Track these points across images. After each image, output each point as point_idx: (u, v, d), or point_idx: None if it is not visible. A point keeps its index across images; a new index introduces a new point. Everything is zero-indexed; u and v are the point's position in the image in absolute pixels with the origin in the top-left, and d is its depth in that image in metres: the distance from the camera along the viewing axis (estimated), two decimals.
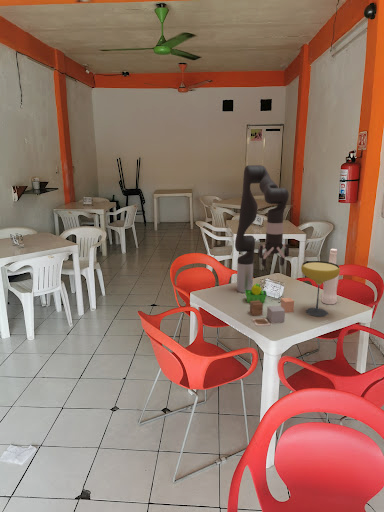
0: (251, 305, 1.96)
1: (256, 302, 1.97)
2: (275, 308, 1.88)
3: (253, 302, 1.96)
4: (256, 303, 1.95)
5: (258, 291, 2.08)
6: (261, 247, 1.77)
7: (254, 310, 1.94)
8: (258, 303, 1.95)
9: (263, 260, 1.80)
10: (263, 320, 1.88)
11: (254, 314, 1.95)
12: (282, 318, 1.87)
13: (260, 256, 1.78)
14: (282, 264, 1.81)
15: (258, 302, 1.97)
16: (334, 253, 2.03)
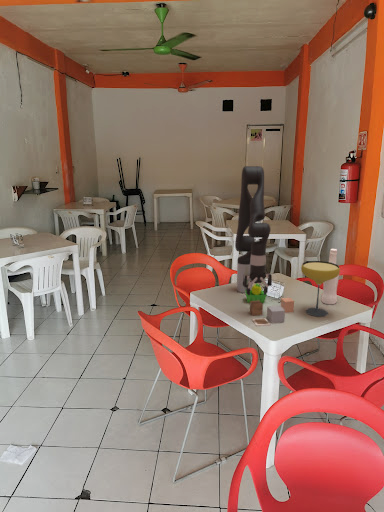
0: (251, 305, 1.96)
1: (256, 302, 1.97)
2: (275, 308, 1.88)
3: (253, 302, 1.96)
4: (256, 303, 1.95)
5: (258, 291, 2.08)
6: (245, 277, 1.91)
7: (254, 310, 1.94)
8: (258, 303, 1.95)
9: (248, 289, 1.93)
10: (263, 320, 1.88)
11: (254, 314, 1.95)
12: (282, 318, 1.87)
13: (245, 285, 1.91)
14: (265, 293, 1.94)
15: (258, 302, 1.97)
16: (334, 253, 2.03)
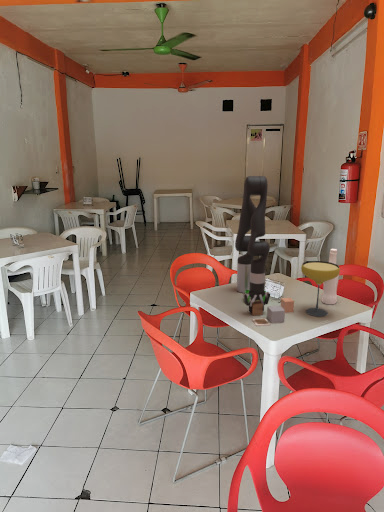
0: None
1: (256, 302, 1.97)
2: (275, 308, 1.88)
3: None
4: (256, 303, 1.95)
5: None
6: (245, 296, 1.93)
7: (254, 310, 1.94)
8: (258, 303, 1.95)
9: (250, 307, 1.96)
10: (263, 320, 1.88)
11: (254, 314, 1.95)
12: (282, 318, 1.87)
13: (247, 304, 1.94)
14: None
15: (258, 302, 1.97)
16: (334, 253, 2.03)
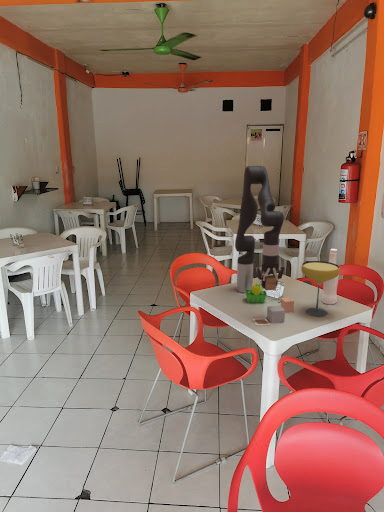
0: None
1: (269, 276, 1.87)
2: (275, 308, 1.88)
3: None
4: (269, 277, 1.86)
5: (258, 291, 2.08)
6: (258, 270, 1.84)
7: (267, 285, 1.85)
8: (271, 277, 1.86)
9: (263, 282, 1.86)
10: (263, 320, 1.88)
11: (267, 289, 1.86)
12: (282, 318, 1.87)
13: (260, 278, 1.85)
14: None
15: (272, 276, 1.87)
16: (334, 253, 2.03)
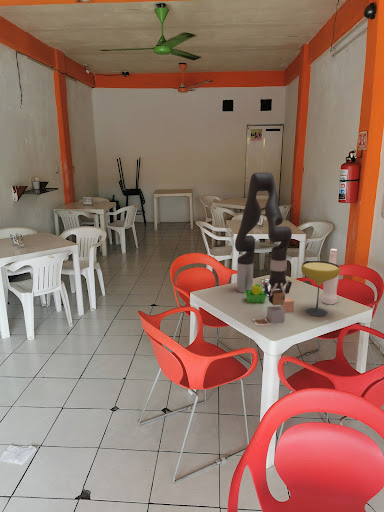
0: None
1: (276, 291, 1.87)
2: (275, 308, 1.88)
3: None
4: (277, 292, 1.85)
5: (258, 291, 2.08)
6: (265, 285, 1.83)
7: (274, 300, 1.85)
8: (279, 292, 1.86)
9: (270, 297, 1.86)
10: (263, 320, 1.88)
11: (275, 303, 1.85)
12: (282, 318, 1.87)
13: (267, 293, 1.85)
14: None
15: (279, 291, 1.87)
16: (334, 253, 2.03)
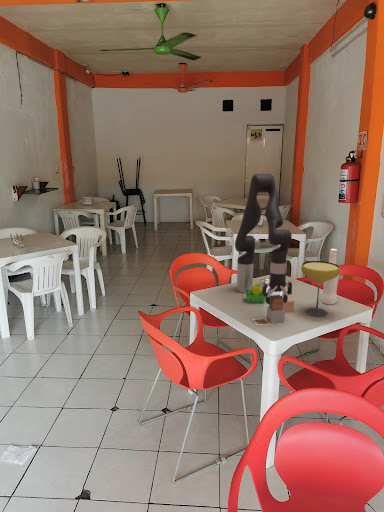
0: (271, 299, 1.87)
1: (276, 296, 1.88)
2: None
3: (273, 296, 1.87)
4: (276, 297, 1.86)
5: (258, 291, 2.08)
6: (265, 286, 1.84)
7: (274, 305, 1.85)
8: (278, 297, 1.86)
9: (267, 298, 1.86)
10: (263, 320, 1.88)
11: (274, 309, 1.86)
12: (282, 318, 1.87)
13: (264, 294, 1.84)
14: (285, 301, 1.87)
15: (279, 296, 1.88)
16: (334, 253, 2.03)
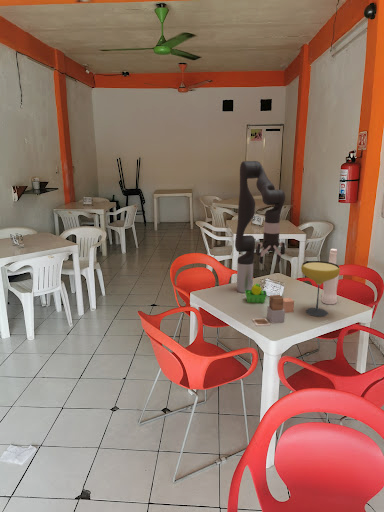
0: (271, 299, 1.87)
1: (276, 296, 1.88)
2: None
3: (273, 296, 1.87)
4: (276, 297, 1.86)
5: (258, 291, 2.08)
6: (259, 245, 1.88)
7: (274, 305, 1.85)
8: (278, 297, 1.86)
9: (260, 257, 1.91)
10: (263, 320, 1.88)
11: (274, 309, 1.86)
12: (282, 318, 1.87)
13: (258, 254, 1.89)
14: (278, 261, 1.93)
15: (278, 296, 1.88)
16: (334, 253, 2.03)
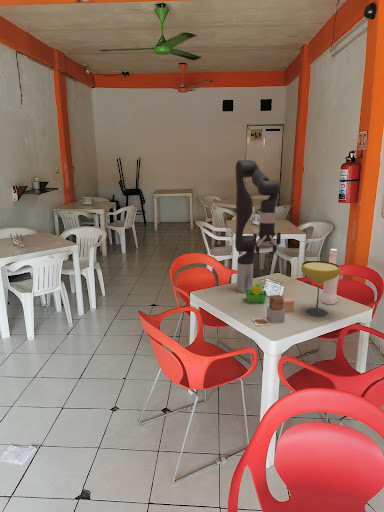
0: (271, 299, 1.87)
1: (276, 296, 1.88)
2: None
3: (273, 296, 1.87)
4: (276, 297, 1.86)
5: (258, 291, 2.08)
6: (255, 235, 1.92)
7: (274, 305, 1.85)
8: (278, 297, 1.86)
9: (257, 247, 1.95)
10: (263, 320, 1.88)
11: (274, 309, 1.86)
12: (282, 318, 1.87)
13: (254, 244, 1.93)
14: (274, 251, 1.96)
15: (279, 296, 1.88)
16: (334, 253, 2.03)
